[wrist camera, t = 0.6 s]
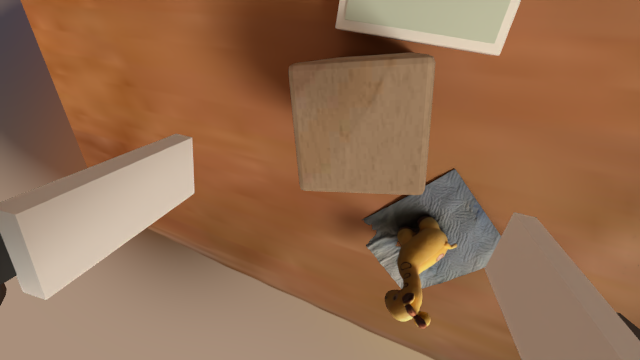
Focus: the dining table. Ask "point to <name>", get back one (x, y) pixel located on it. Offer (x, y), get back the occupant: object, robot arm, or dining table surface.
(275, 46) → the dining table surface
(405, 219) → the stuffed giraffe
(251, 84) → the dining table surface
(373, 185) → the wooden block
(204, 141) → the dining table surface
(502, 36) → the picture frame
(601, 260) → the dining table surface
